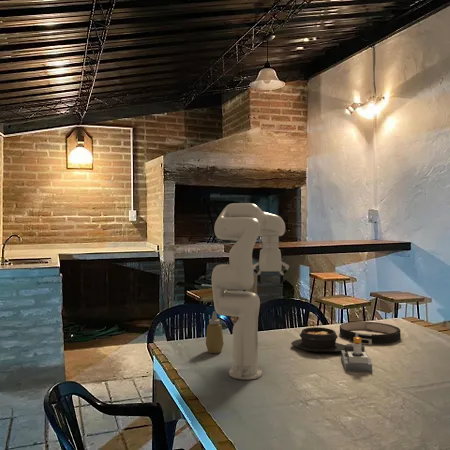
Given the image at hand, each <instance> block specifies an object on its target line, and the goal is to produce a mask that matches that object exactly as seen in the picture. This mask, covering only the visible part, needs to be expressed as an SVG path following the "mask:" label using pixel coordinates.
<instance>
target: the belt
mask: <svg viewBox="0 0 450 450" xmlns="http://www.w3.org/2000/svg"><path fill="white" fill-rule="evenodd" d="M354 330H369V331H373V332H379V334H371V333H363V332H362V333H361V332H356V331H355V332H354ZM380 333H381V334H380ZM382 333H383V334H382ZM339 336H340V337H341V338H343V339H346V340H348V341H350V342H353V338H354V337H360V338H361V345H363V344H364V345H389V344H390V345H391V344H395V343H398V342H400V341H401V329H400V328H399V327H398V326H395V325H392V324H388V323H382V322H377V321H347V322H343V323H341V324H339Z"/></svg>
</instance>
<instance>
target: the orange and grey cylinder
mask: <svg viewBox="0 0 450 450" xmlns="http://www.w3.org/2000/svg"><path fill="white" fill-rule="evenodd" d="M352 342H353V343H352V344H354V356H361V345H362V343H361V338H360V337H354V338H353V341H352Z"/></svg>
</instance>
